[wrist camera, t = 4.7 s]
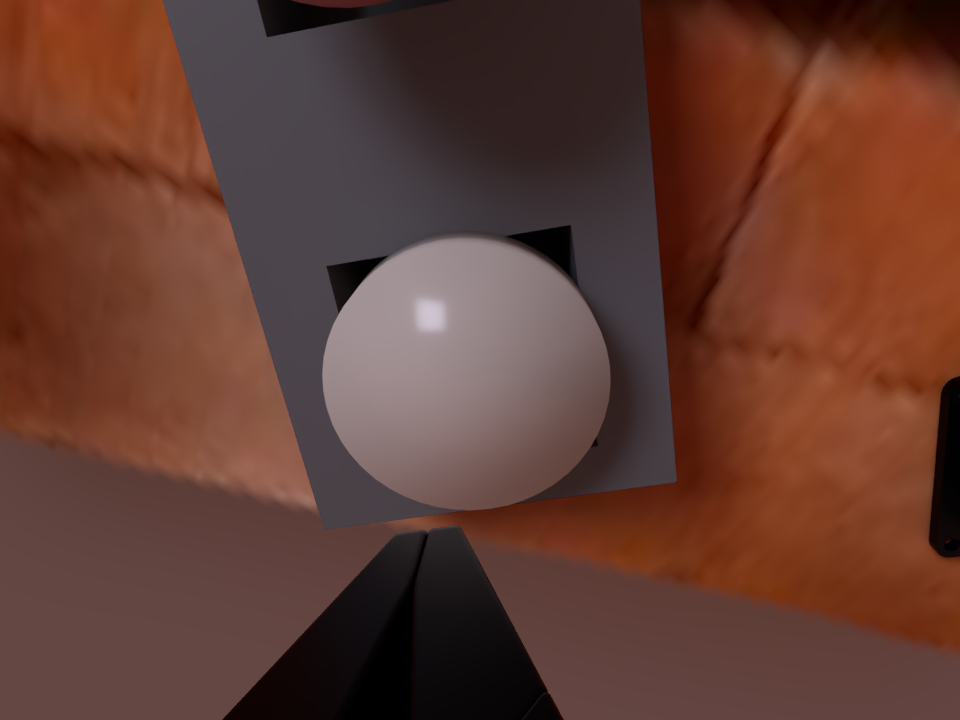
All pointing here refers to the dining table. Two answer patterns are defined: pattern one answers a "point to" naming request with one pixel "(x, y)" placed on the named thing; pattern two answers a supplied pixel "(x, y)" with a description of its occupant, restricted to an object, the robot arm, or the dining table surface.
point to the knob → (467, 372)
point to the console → (436, 187)
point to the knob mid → (342, 3)
